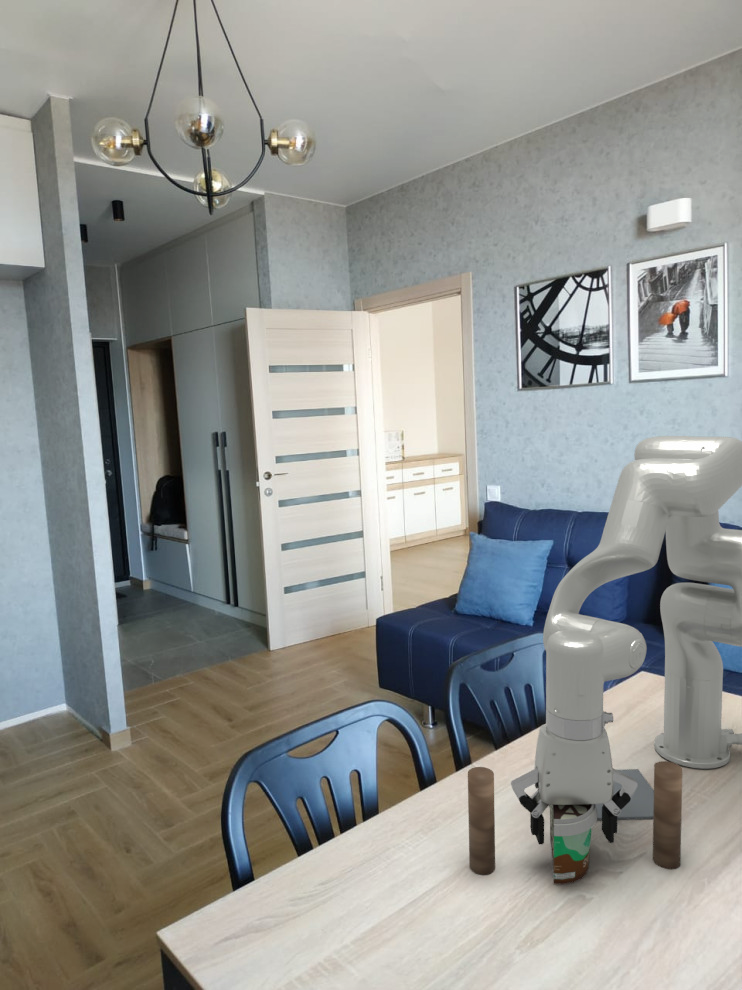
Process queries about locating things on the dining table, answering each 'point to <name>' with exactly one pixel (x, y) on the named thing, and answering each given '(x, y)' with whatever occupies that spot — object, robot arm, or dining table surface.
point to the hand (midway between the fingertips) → (573, 837)
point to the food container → (571, 840)
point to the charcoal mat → (634, 799)
